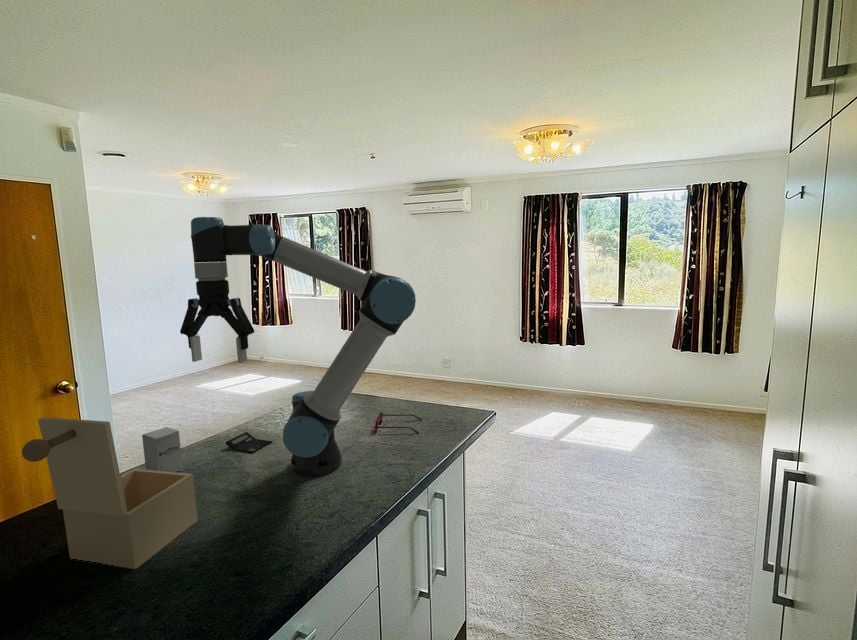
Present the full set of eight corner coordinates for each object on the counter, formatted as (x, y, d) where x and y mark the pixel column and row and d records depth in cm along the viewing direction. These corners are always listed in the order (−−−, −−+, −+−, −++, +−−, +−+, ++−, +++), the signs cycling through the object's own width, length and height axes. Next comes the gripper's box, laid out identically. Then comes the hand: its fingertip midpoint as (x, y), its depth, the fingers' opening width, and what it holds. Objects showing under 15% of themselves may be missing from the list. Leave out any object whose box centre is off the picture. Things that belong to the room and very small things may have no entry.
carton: (197, 520, 112) (192, 474, 110) (135, 569, 95) (128, 514, 93) (139, 513, 116) (134, 468, 114) (70, 559, 99) (62, 506, 97)
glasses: (380, 421, 179) (379, 408, 178) (422, 420, 177) (422, 408, 177) (373, 434, 165) (372, 421, 164) (419, 434, 164) (418, 421, 163)
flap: (109, 421, 89) (58, 445, 80) (127, 513, 93) (81, 547, 84) (42, 417, 93) (-14, 439, 83) (63, 506, 97) (11, 537, 87)
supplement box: (159, 480, 134) (154, 438, 132) (145, 474, 138) (141, 434, 136) (183, 469, 140) (179, 430, 138) (170, 464, 144) (166, 426, 142)
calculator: (253, 454, 151) (252, 445, 150) (226, 450, 155) (225, 441, 154) (272, 443, 159) (272, 435, 159) (246, 439, 163) (245, 431, 163)
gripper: (264, 277, 118) (270, 359, 120) (181, 279, 123) (189, 357, 126) (246, 279, 110) (253, 365, 113) (159, 281, 116) (168, 363, 119)
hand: (219, 361), depth 120 cm, fingers open, 13 cm apart
